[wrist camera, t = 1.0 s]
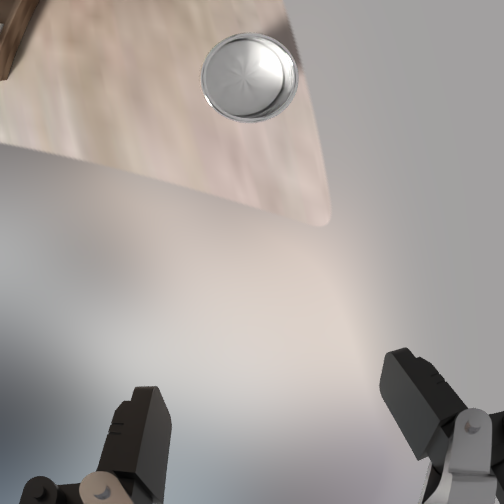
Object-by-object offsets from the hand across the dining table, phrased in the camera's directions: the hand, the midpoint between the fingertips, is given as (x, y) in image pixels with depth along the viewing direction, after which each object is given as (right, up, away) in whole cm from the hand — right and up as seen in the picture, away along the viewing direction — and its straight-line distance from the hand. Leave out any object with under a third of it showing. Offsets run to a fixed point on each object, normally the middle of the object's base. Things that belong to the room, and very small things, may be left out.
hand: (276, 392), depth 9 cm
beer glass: (-3, +24, +20) cm, 32 cm away
